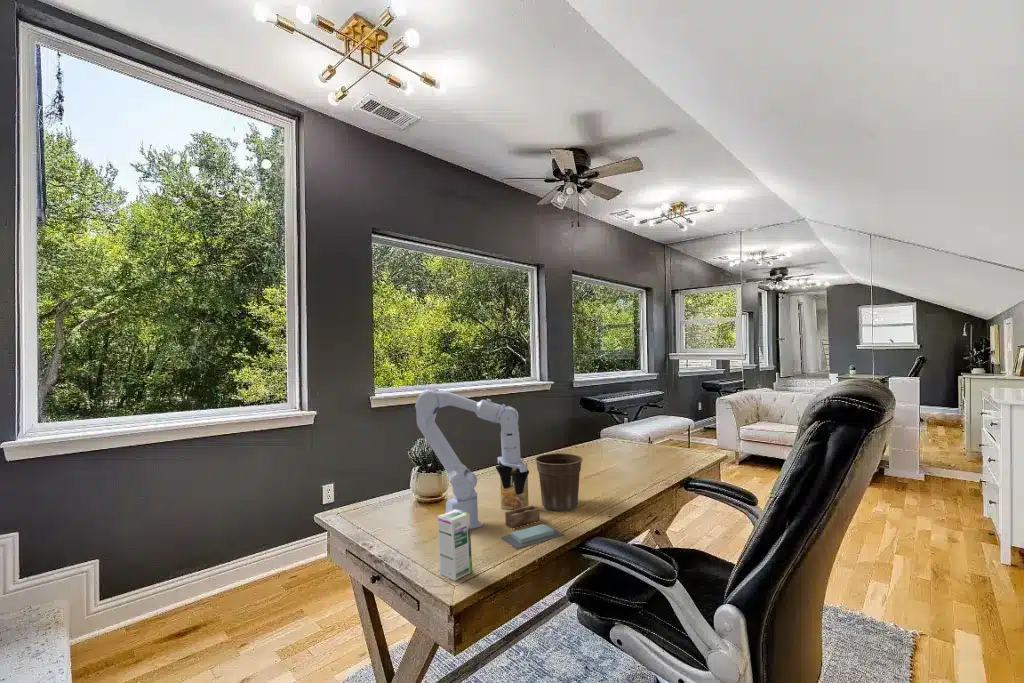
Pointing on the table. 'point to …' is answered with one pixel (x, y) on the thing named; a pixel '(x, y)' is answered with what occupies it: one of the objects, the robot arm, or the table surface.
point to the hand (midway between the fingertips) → (513, 490)
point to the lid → (532, 533)
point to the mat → (520, 545)
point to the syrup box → (454, 544)
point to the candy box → (514, 495)
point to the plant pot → (559, 480)
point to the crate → (522, 516)
